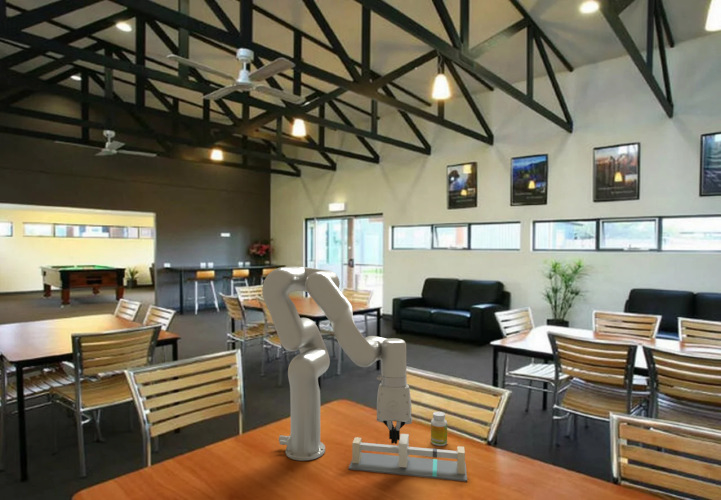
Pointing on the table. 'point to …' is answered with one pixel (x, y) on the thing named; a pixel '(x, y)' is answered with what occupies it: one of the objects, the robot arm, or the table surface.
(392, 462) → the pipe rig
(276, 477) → the table surface
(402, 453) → the white block
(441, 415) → the supplement bottle
